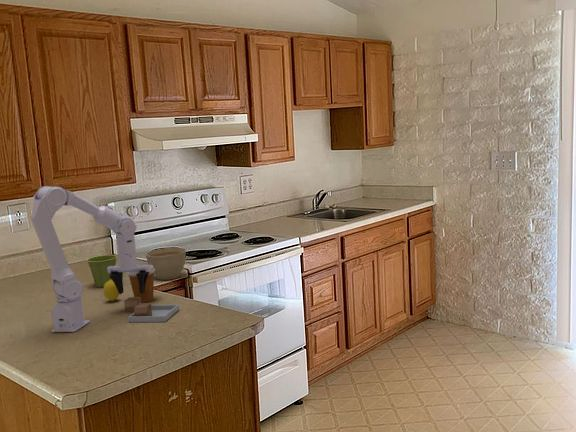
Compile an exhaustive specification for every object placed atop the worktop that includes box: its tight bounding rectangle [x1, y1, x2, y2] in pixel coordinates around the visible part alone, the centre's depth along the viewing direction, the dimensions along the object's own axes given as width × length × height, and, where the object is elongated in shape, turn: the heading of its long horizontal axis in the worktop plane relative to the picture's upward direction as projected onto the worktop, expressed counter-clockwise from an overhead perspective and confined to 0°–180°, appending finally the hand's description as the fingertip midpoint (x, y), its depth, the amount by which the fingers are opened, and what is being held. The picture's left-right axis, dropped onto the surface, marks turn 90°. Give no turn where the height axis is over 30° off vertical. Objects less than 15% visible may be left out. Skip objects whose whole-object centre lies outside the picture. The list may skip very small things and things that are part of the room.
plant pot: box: [85, 254, 118, 288], centre depth 230 cm, size 12×12×11 cm
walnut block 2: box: [134, 302, 152, 316], centre depth 181 cm, size 4×4×4 cm
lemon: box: [103, 280, 120, 302], centre depth 205 cm, size 6×6×8 cm
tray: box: [127, 304, 180, 324], centre depth 184 cm, size 12×12×2 cm
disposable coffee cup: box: [126, 265, 155, 304], centre depth 202 cm, size 10×10×12 cm
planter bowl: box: [145, 247, 187, 281], centre depth 235 cm, size 16×16×11 cm
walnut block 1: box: [123, 296, 142, 313], centre depth 192 cm, size 4×4×4 cm
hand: (131, 293), depth 192 cm, fingers open, 7 cm apart
